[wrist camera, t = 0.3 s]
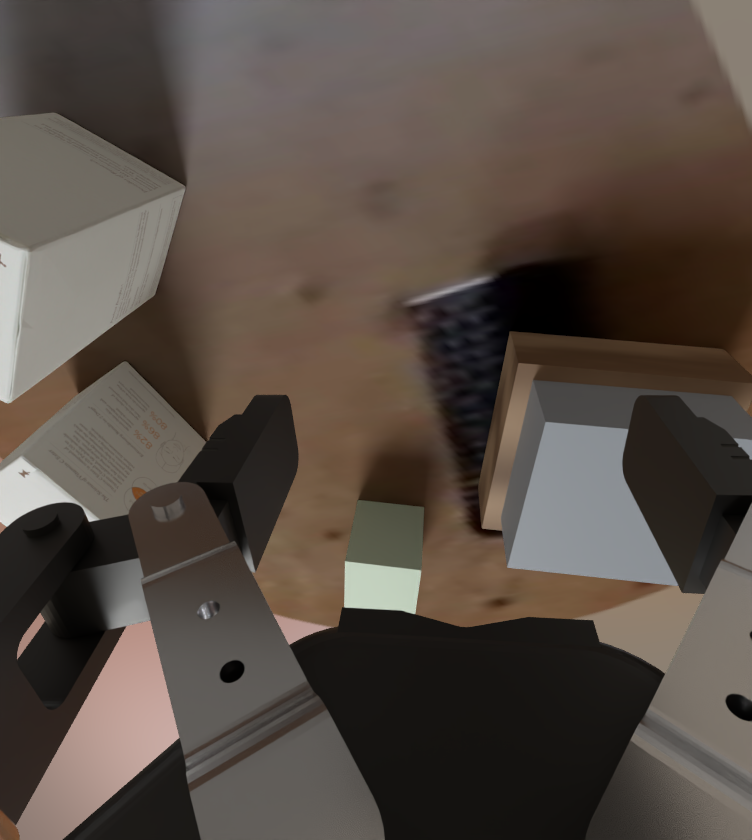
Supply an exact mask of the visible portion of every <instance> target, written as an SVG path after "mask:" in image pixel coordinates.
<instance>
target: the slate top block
mask: <svg viewBox="0 0 752 840" xmlns="http://www.w3.org/2000/svg"><path fill="white" fill-rule="evenodd" d="M640 395H677V396H679V397H680V398H681V399H682V400H683V401H684V403H685V404H686V405H687V406H688V407H689V408H690V410H691V411H692V412H693V413H694V414H695V415H696V416H697V417H704V418H706V419H708V420H709V421H711V422H713V423H715V424H716V425H718V426H720V427H721V428H723V429H725V430H726V431H727V432H728V433H729V434H730V435H731V437H732V438H733V439H734V440H735V441H736V442H737V443H738V444H739V445H738V447H742V449H743V450H744V451H745V452H746V453H747V454H748V455H749V456H750V457H749V458H750V459H752V418H751V417H750V415H749V414H748V413H747V412H746V411H745V410H744V409H743V408H742V407H741V406H740V405H739V404H738V402H737V401H736V400H735V399H734V398H733V397H732V396H725V395H712V394H700V393H688V392H675V391H663V390H651V389H638V388H626V387H613V386H601V385H589V384H576V383H564V382H552V381H539V380H533V382H532V386H531V390H530V395H529V399H528V403H527V407H526V412H525V416H524V420H523V425H522V429H521V433H520V437H519V442H518V446H517V450H516V455H515V459H514V463H513V467H512V472H511V476H510V480H509V485H508V489H507V493H506V497H505V502H504V506H503V510H502V514H501V524H502V531H503V539H504V546H505V554H506V561H507V567H508V568H517V569H526V570H535V571H545V572H554V573H563V574H572V575H582V576H591V577H600V578H609V579H619V580H628V581H637V582H646V583H656V584H665V585H674V586H678V584H677V582H676V580H675V578H674V576H673V574H672V572H671V570H670V568H669V566H668V564H667V562H666V560H665V558H664V556H663V554H662V552H661V550H660V548H659V546H658V544H657V542H656V540H655V538H654V536H653V534H652V532H651V530H650V529H649V527H648V525H647V523H646V521H645V519H644V517H643V515H642V513H641V511H640V509H639V507H638V505H637V503H636V501H635V499H634V497H633V495H632V493H631V491H630V489H629V487H628V485H627V483H626V481H625V478H624V475H623V467H622V459H623V452H624V447H625V443H626V438H627V434H628V429H629V425H630V420H631V416H632V411H633V407H634V403H635V401H636V399H637V398H638V397H639V396H640Z"/></svg>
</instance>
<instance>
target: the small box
mask: <svg viewBox="0 0 752 840" xmlns="http://www.w3.org/2000/svg"><path fill="white" fill-rule="evenodd" d="M205 443H206V441H205V440H204V439H203V438H202V437H201V436H200V435H199V434H198V433H197V432H196V431H195V430H194V429H193V428H192V427H191V426H190V425H189V424H188V423H187V422H186V421H185V420H184V419H183V418H182V417H181V416H180V415H179V414H178V413H177V412H176V411H175V410H174V409H173V408H172V407H171V406H170V405H169V404H168V403H167V402H166V401H165V400H164V399H163V398H162V397H161V396H160V395H159V394H158V393H157V392H156V391H155V390H154V389H153V388H152V387H151V386H150V385H149V384H148V383H147V382H146V381H145V380H144V379H143V378H142V377H141V376H140V375H139V374H138V373H137V372H136V371H135V370H134V368H133V367H132V366H131V365H130V364H129V363H128V362H126V361H124V362H122V363H121V364H119V365H118V366H117V367H115V368H114V369H112V370H111V371H110V372H108V373H107V374H105V375H104V376H103V377H101V378H100V379H98V380H97V381H96V382H94V383H93V384H92V385H90V386H89V387H87V388H86V389H85V390H83V391H82V392H80V393H79V394H78V395H76V396H75V397H74V398H73V399H72V400H70V401H69V402H68V403H67V404H66V405H65V406H64V407H63V408H61V409H60V410H59V411H58V412H57V413H56V414H55V415H54V416H52V417H51V418H50V419H49V420H48V421H47V422H46V423H45V424H43V425H42V426H41V427H40V428H39V429H38V430H37V431H36V432H34V433H33V434H32V435H31V436H30V437H29V438H28V439H27V440H25V441H24V442H23V443H22V444H21V445H20V446H19V447H17V448H16V449H15V450H14V451H13V452H12V453H11V454H10V455H8V456H7V457H6V458H5V459H4V460H3V461H2V462H1V463H0V522H1V523H2V524H4V525H5V526H6V527H7V526H9V525H10V524H11V523H12V522H13V521H15V520H16V519H17V518H19V517H21V516H22V515H24V514H26V513H28V512H30V511H32V510H34V509H36V508H39V507H42V506H45V505H49V504H53V503H61V502H70V503H75V504H78V505H80V506H81V507H82V508H83V510H84V512H85V514H86V516H87V518H88V521H89V522H91V521H96V520H101V519H107V518H112V517H117V516H123V515H127V514H129V510H130V508H131V506H132V505H133V503H134V502H135V501H136V500H137V499H138V498H139V497H141V496H142V495H143V494H145V493H146V492H148V491H150V490H152V489H154V488H156V487H159V486H162V485H165V484H169V483H175V482H178V480H179V479H180V478H181V476H182V475H183V474H184V472H185V471H186V469H187V468H188V467H189V465H190V464H191V463H192V461H193V460H194V459H195V457H196V456H197V454H198V453H199V452H200V451H202V448H203V446H204V445H205Z"/></svg>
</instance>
